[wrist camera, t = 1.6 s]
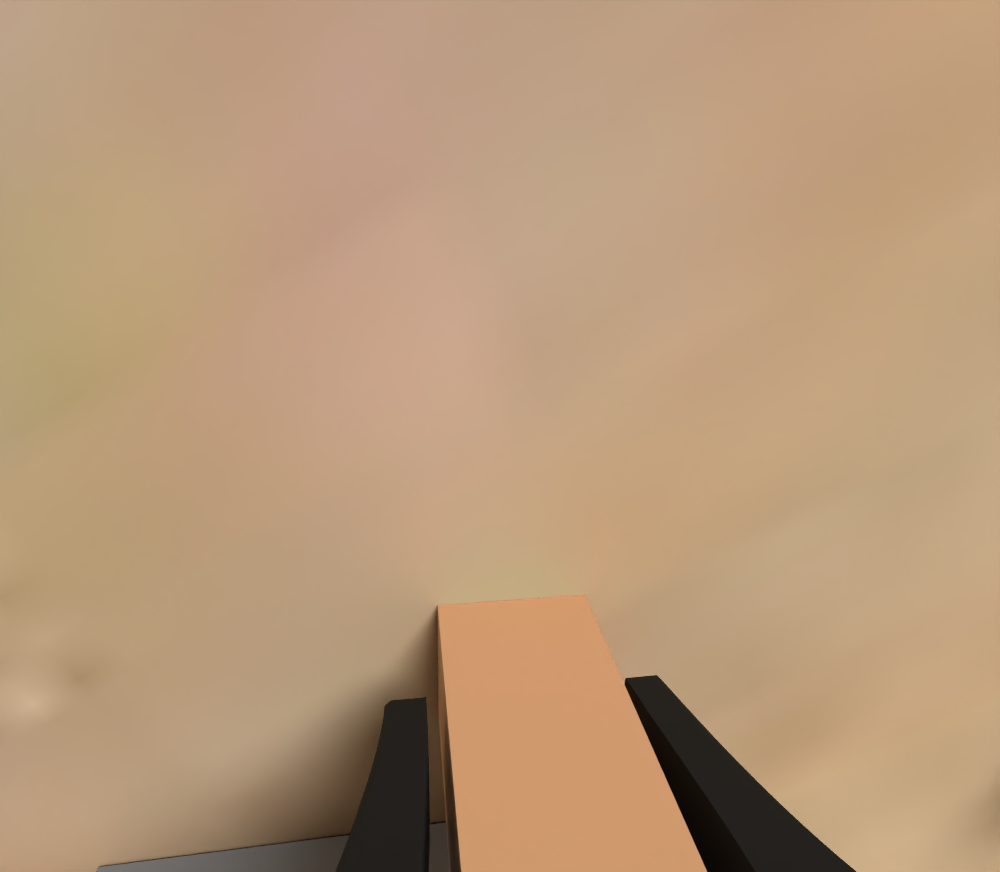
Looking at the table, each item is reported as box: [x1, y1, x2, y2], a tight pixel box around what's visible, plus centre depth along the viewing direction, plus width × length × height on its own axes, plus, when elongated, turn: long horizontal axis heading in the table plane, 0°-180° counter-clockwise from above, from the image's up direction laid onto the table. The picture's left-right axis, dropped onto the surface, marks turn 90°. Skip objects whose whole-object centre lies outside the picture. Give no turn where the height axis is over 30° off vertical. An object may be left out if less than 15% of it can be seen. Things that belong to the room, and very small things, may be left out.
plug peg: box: [438, 595, 707, 872], centre depth 10 cm, size 3×3×6 cm
